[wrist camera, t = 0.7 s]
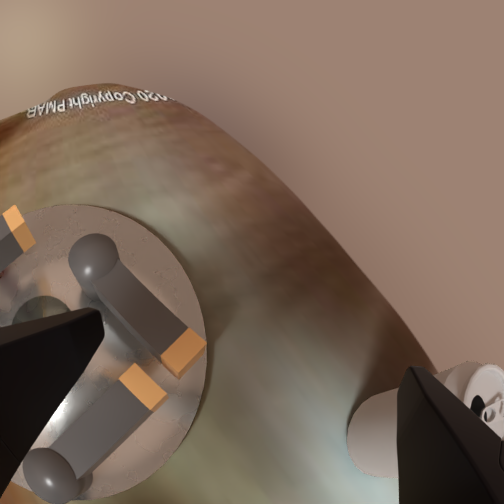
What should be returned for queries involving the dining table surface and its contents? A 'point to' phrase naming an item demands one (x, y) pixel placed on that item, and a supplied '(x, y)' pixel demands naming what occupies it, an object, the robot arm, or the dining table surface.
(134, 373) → the foot screw
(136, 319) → the grey and orange bar
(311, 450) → the dining table surface
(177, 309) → the plate
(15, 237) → the foot screw
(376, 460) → the can
